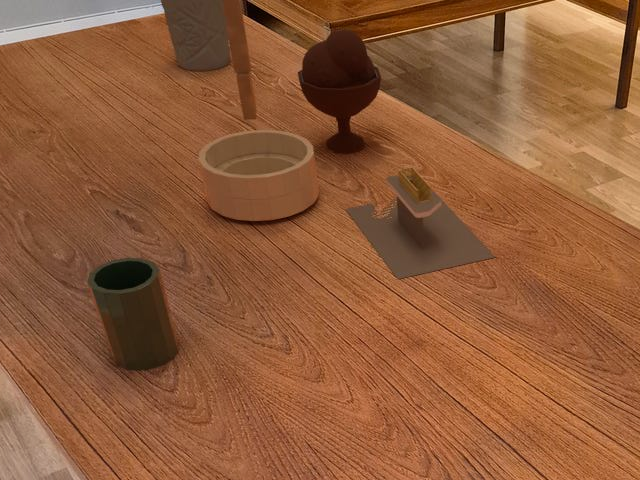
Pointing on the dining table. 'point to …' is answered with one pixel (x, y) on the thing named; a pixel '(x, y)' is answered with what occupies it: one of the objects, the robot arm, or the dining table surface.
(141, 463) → the dining table surface
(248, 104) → the brown wooden stick
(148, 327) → the crock
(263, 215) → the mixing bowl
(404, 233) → the platform
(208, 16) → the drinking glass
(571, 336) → the dining table surface
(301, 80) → the ice cream bowl
